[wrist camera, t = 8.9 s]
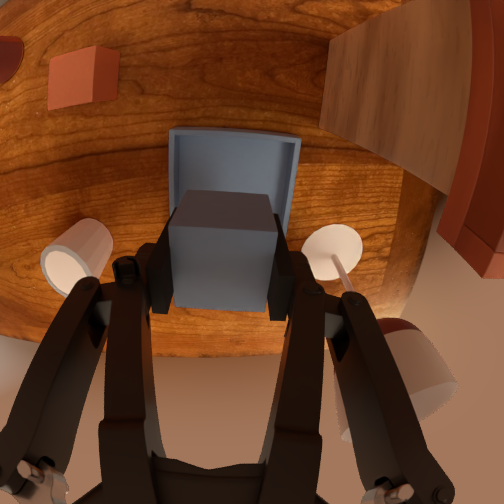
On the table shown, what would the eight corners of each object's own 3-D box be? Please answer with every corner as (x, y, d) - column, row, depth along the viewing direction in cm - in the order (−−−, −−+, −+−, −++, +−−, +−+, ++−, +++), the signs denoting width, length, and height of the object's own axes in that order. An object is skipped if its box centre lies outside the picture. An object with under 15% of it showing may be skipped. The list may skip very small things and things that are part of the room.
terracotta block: (120, 51, 18) (96, 44, 13) (117, 99, 20) (92, 101, 16) (78, 60, 17) (49, 58, 13) (76, 105, 20) (47, 111, 16)
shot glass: (122, 223, 27) (95, 259, 21) (114, 271, 30) (93, 310, 24) (71, 205, 25) (38, 235, 20) (69, 253, 29) (42, 287, 23)
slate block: (268, 194, 17) (278, 232, 12) (259, 262, 19) (264, 312, 15) (186, 189, 16) (167, 225, 12) (187, 257, 19) (174, 307, 14)
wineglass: (363, 276, 32) (431, 418, 15) (295, 286, 32) (333, 450, 15) (370, 218, 28) (477, 365, 11) (293, 226, 28) (353, 411, 11)
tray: (296, 134, 23) (301, 138, 21) (280, 238, 29) (283, 251, 27) (175, 126, 22) (169, 129, 20) (176, 232, 28) (170, 244, 26)
